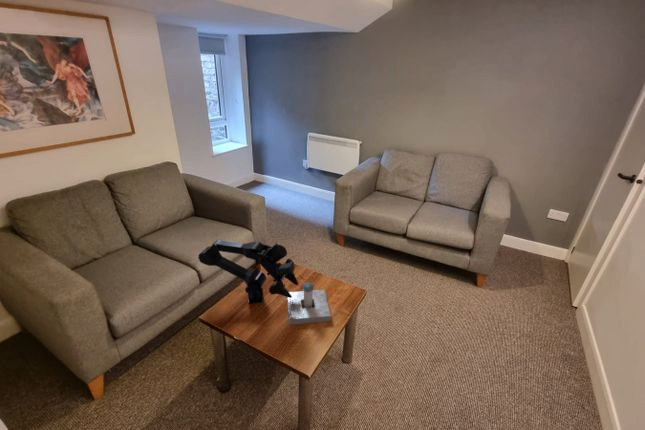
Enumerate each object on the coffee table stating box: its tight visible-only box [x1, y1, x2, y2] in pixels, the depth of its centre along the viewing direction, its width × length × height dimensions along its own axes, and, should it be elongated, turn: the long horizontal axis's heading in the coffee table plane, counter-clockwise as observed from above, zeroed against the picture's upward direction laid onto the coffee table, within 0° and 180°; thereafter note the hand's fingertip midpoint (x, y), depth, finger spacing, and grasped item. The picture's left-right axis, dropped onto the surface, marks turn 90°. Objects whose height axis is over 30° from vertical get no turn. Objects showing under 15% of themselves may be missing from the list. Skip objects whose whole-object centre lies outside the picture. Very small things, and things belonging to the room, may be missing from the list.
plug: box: [302, 282, 314, 309], centre depth 141 cm, size 5×5×13 cm
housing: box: [286, 289, 332, 326], centre depth 143 cm, size 18×18×3 cm
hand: (294, 290), depth 141 cm, fingers open, 9 cm apart
